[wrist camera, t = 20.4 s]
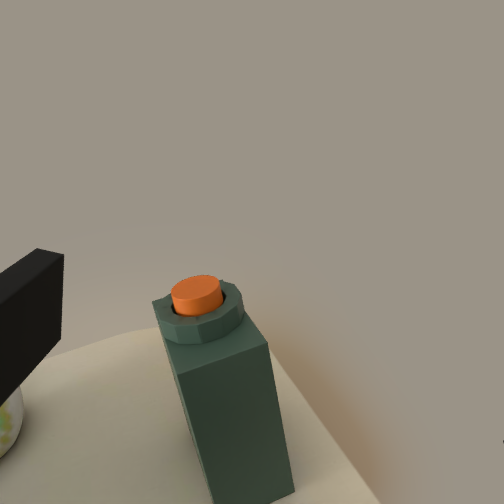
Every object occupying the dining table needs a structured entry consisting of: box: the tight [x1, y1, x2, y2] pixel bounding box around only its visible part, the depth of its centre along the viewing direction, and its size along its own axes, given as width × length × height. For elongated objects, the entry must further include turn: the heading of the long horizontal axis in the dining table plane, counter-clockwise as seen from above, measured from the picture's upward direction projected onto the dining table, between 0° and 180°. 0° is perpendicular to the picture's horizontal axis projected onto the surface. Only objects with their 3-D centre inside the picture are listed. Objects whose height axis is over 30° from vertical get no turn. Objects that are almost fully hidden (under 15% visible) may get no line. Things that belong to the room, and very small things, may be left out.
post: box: [152, 280, 295, 504], centre depth 42 cm, size 12×7×18 cm, turn 20°
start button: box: [171, 275, 223, 317], centre depth 38 cm, size 4×4×2 cm
